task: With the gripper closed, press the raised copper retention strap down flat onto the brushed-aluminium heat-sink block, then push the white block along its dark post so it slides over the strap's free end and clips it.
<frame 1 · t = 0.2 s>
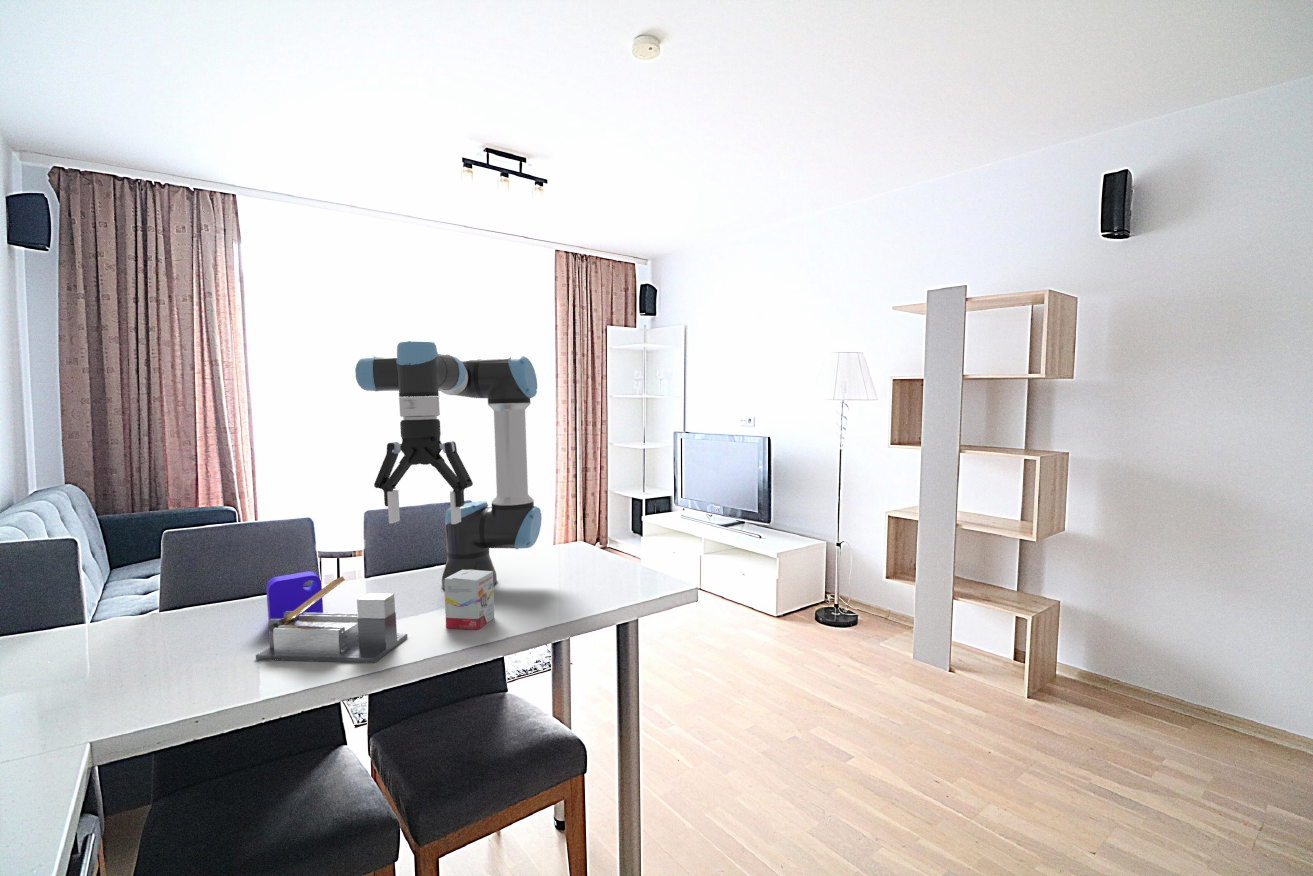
hand: (425, 522, 126), 28 cm above the table, fingers open, 13 cm apart
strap: (308, 603, 133), point 10 cm above the table, hinge at 35.0°
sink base: (332, 648, 133), on the table
white block: (376, 605, 131), point 10 cm above the table, slide at 0.0 cm
ink box: (470, 623, 147), on the table
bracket: (292, 617, 154), on the table
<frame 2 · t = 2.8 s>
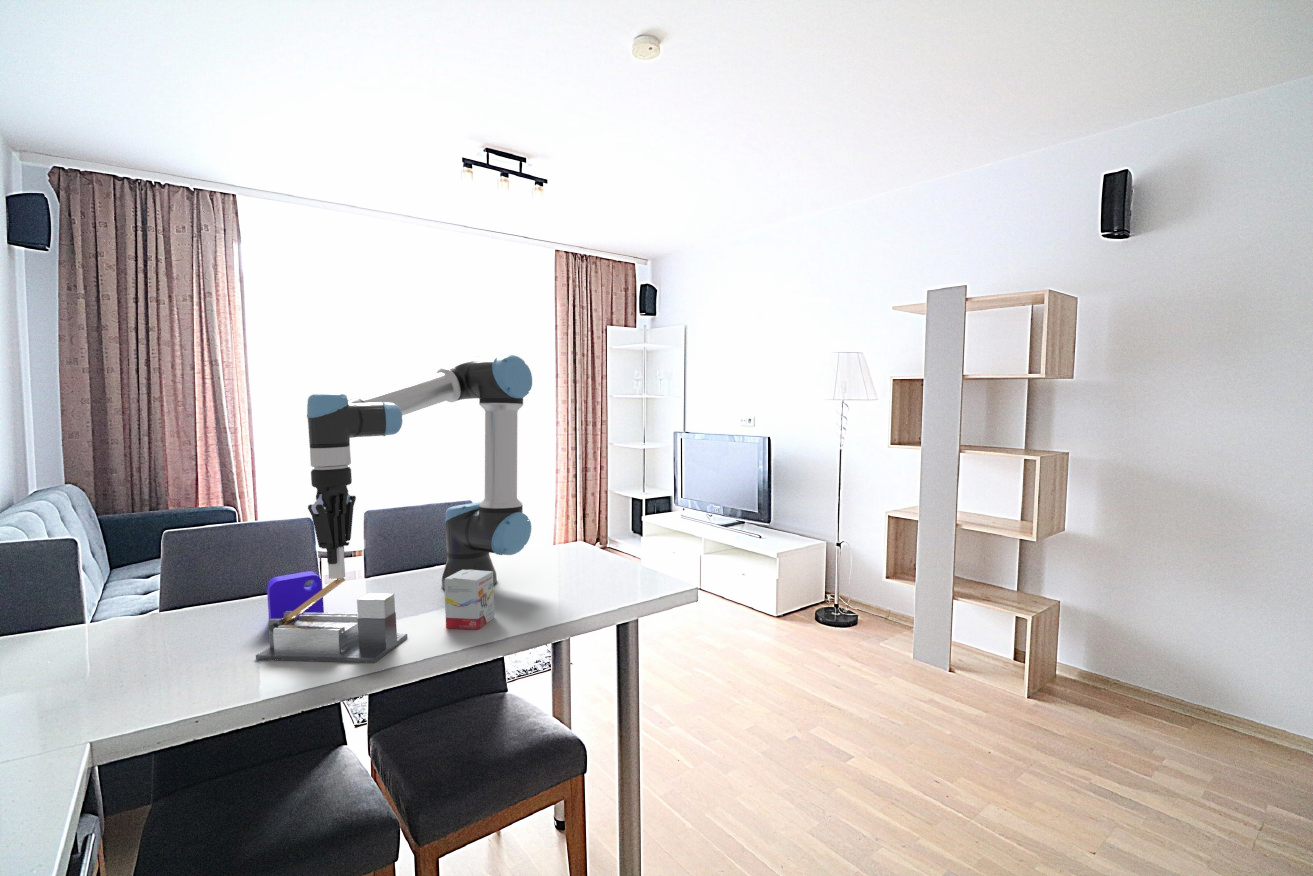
hand: (337, 577, 131), 16 cm above the table, fingers closed
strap: (308, 603, 133), point 10 cm above the table, hinge at 34.7°, touching gripper
everything else where it was.
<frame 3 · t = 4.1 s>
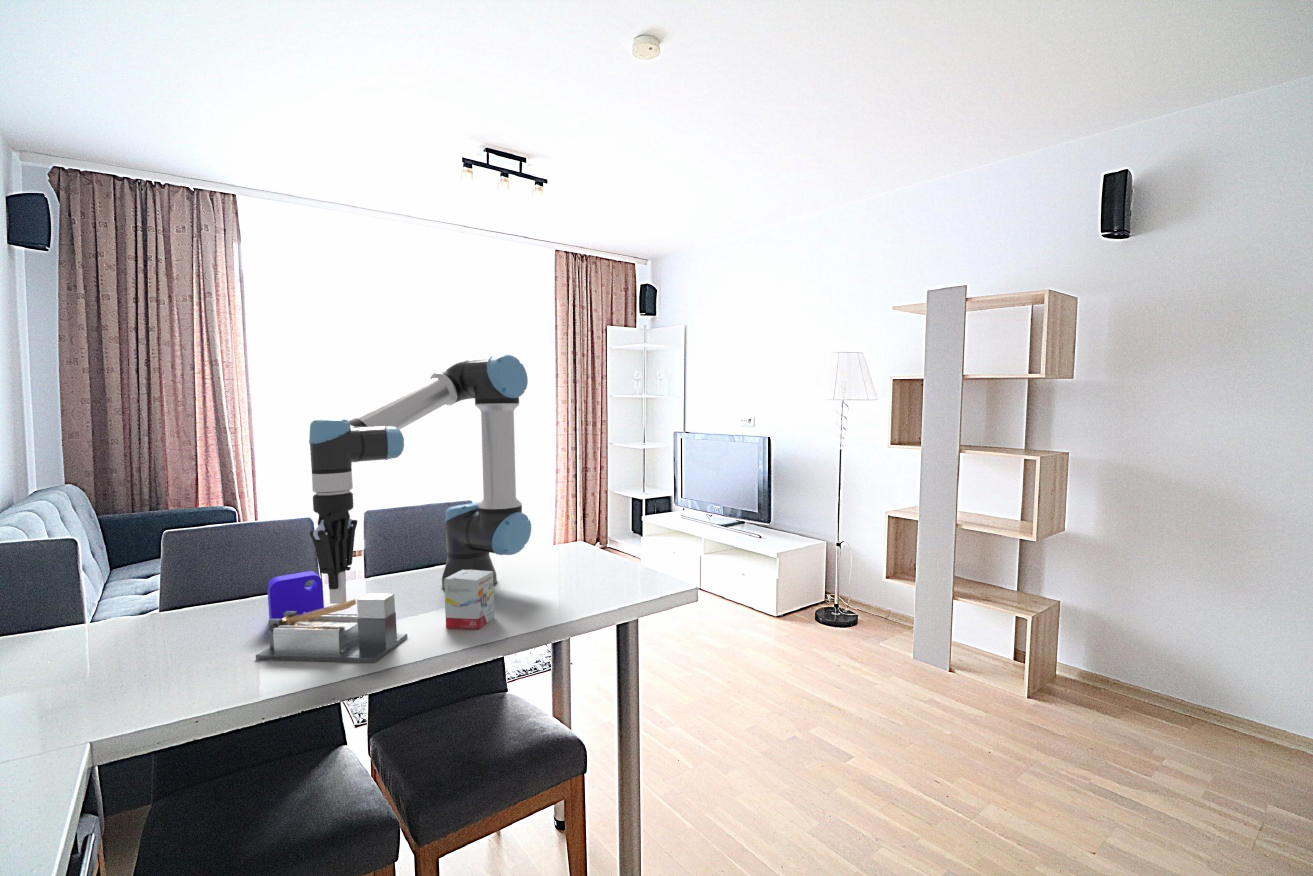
hand: (338, 602, 131), 10 cm above the table, fingers closed
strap: (314, 614, 133), point 7 cm above the table, hinge at 15.3°, touching gripper
everything else where it was.
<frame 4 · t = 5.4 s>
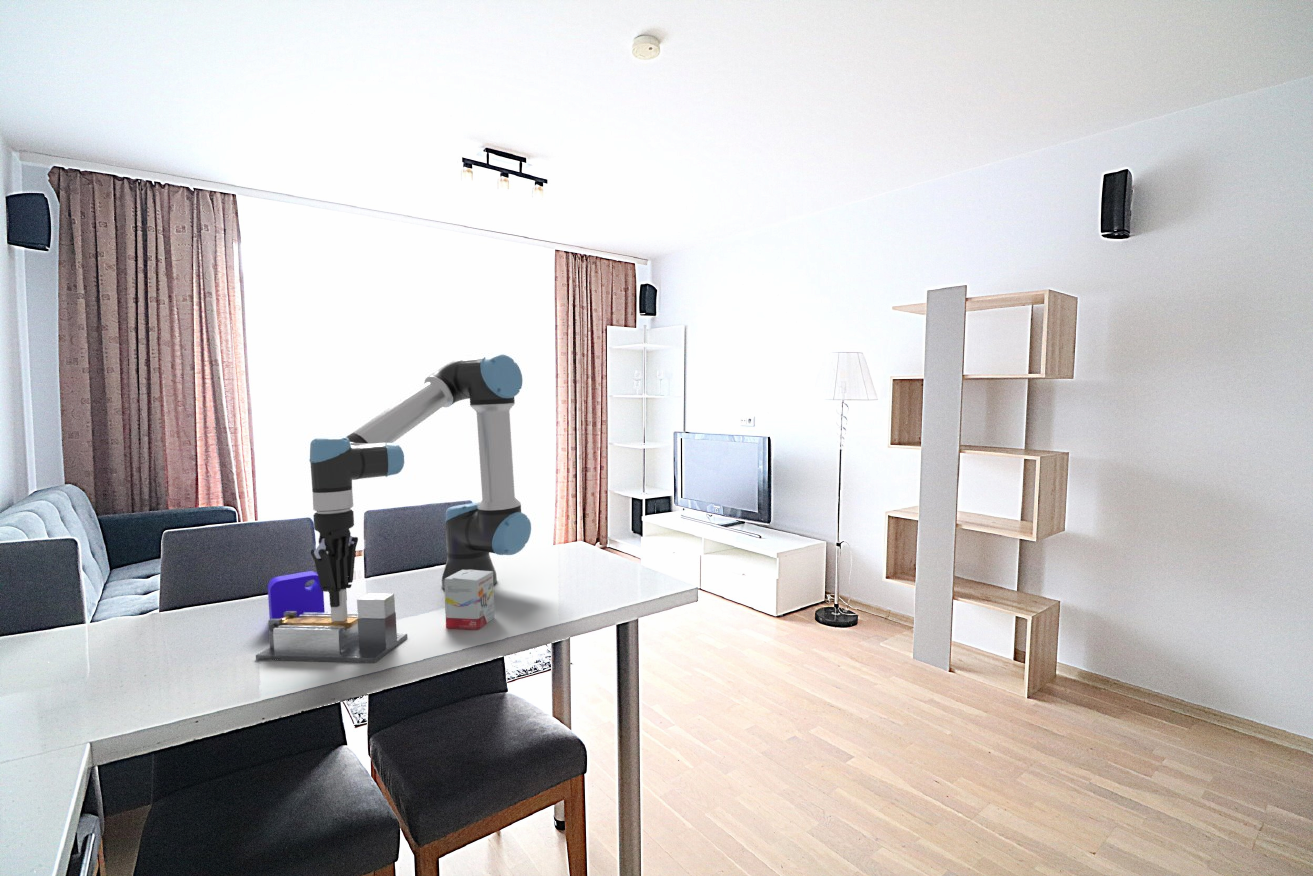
hand: (339, 620, 132), 6 cm above the table, fingers closed
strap: (315, 622, 133), point 6 cm above the table, hinge at 1.1°, touching gripper
everything else where it was.
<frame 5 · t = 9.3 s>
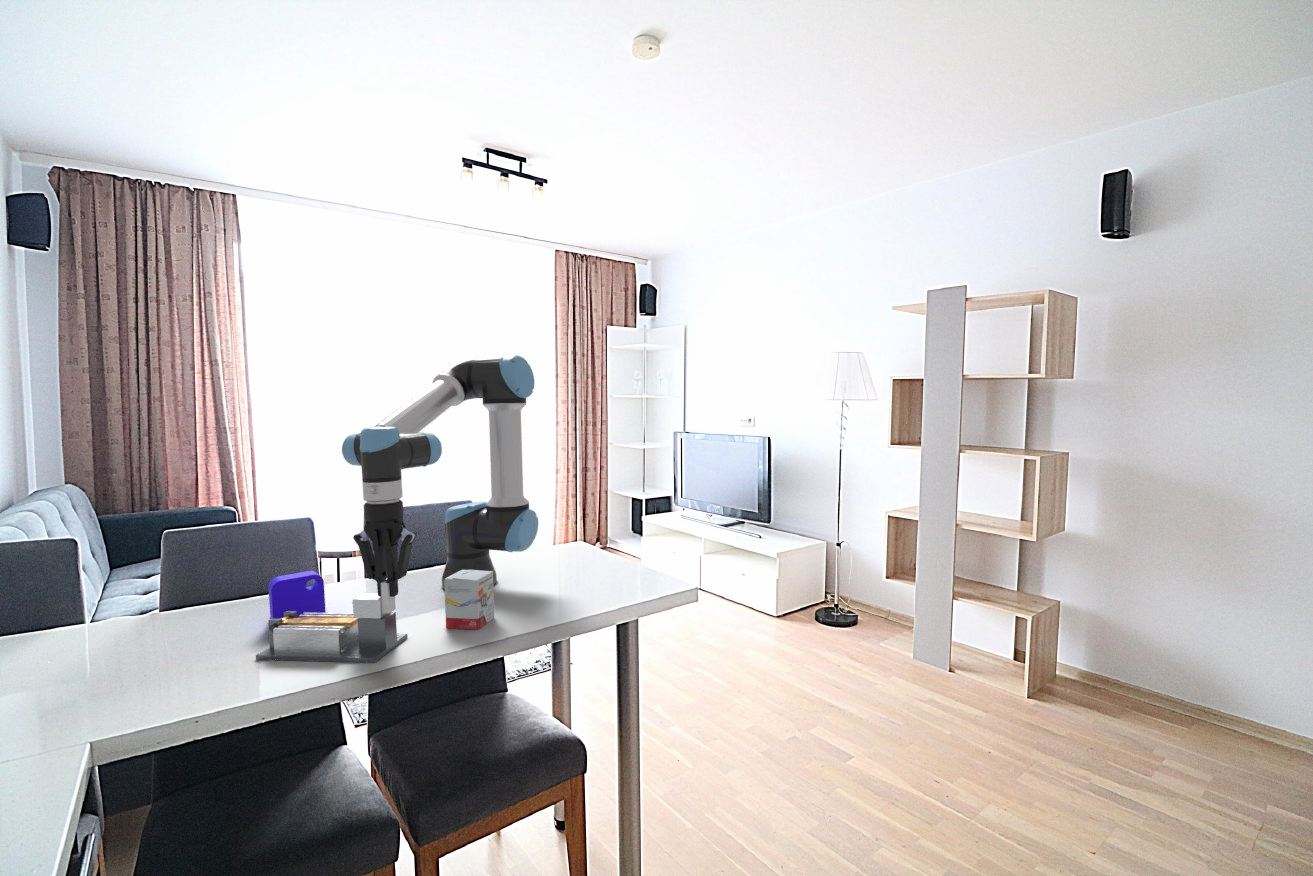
hand: (389, 611, 131), 8 cm above the table, fingers closed
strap: (315, 622, 133), point 6 cm above the table, hinge at 1.0°
white block: (372, 605, 131), point 9 cm above the table, slide at 1.0 cm, touching gripper
everything else where it was.
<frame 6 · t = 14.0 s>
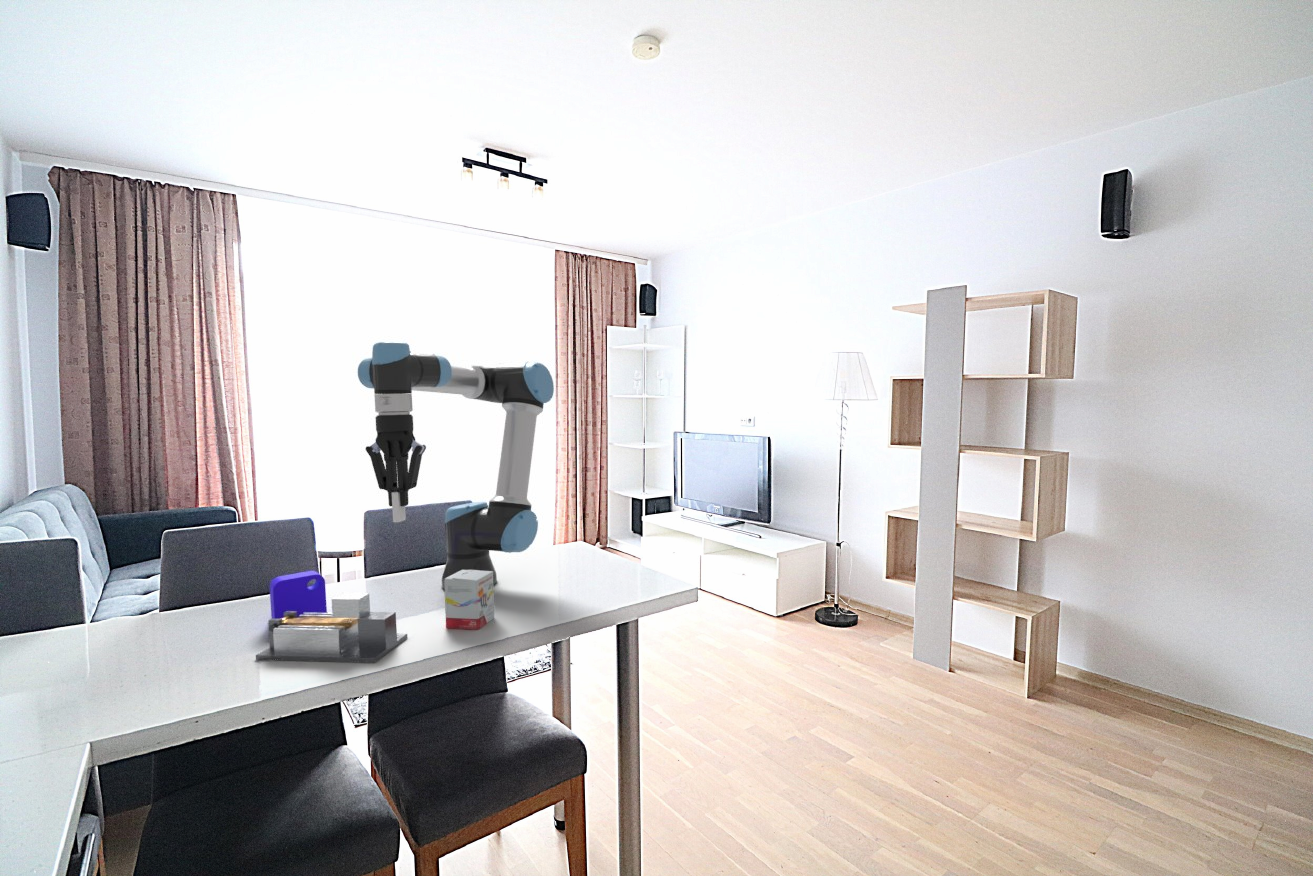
hand: (399, 520, 136), 26 cm above the table, fingers closed
white block: (351, 605, 132), point 9 cm above the table, slide at 5.7 cm
everything else where it was.
at the end: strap at +1° (first picture: +35°); white block slide at 5.7 cm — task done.
